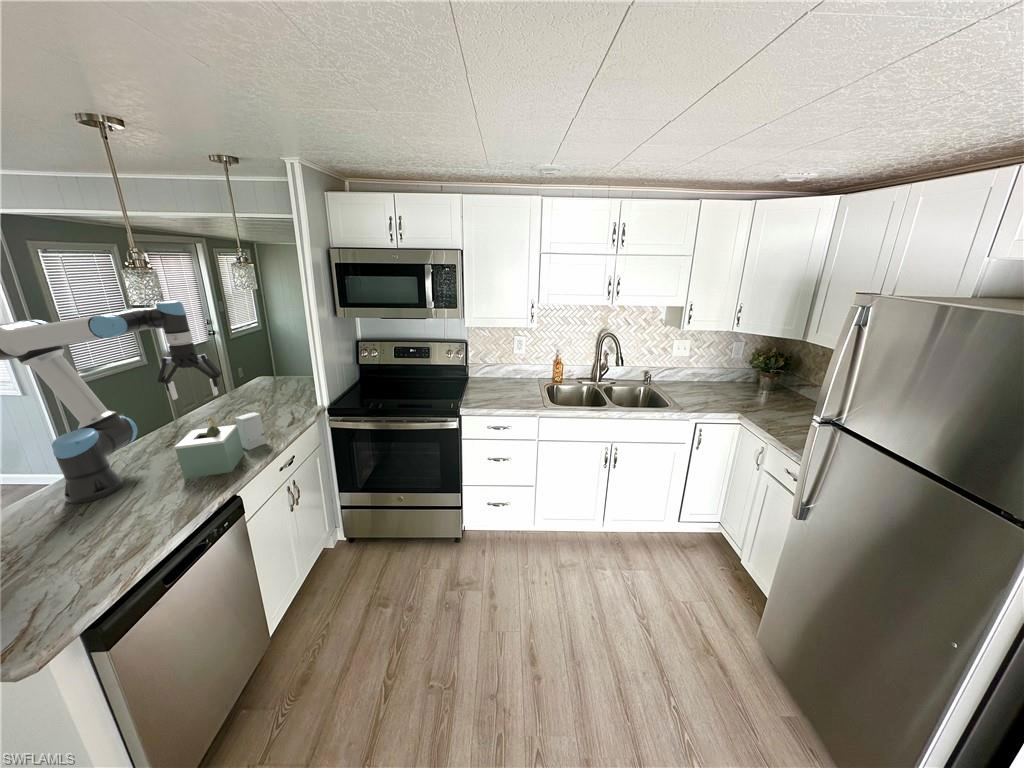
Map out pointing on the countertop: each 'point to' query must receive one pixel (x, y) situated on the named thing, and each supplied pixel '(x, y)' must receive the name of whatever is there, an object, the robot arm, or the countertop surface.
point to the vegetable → (212, 429)
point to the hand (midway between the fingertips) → (196, 396)
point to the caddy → (209, 452)
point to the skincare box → (250, 430)
